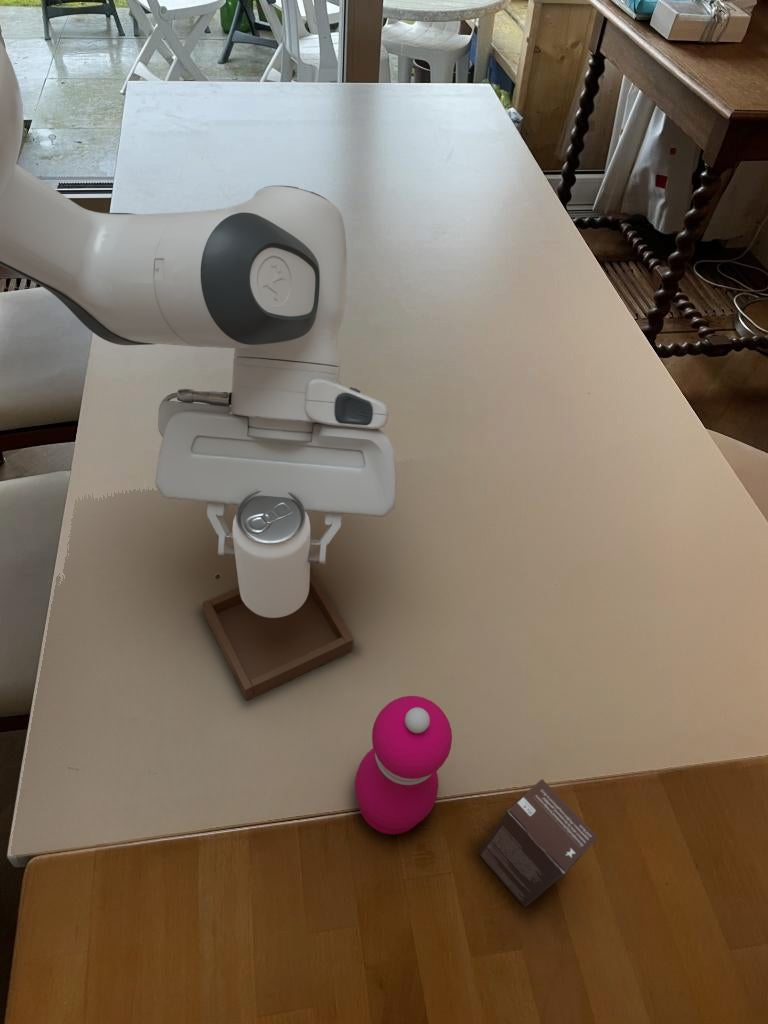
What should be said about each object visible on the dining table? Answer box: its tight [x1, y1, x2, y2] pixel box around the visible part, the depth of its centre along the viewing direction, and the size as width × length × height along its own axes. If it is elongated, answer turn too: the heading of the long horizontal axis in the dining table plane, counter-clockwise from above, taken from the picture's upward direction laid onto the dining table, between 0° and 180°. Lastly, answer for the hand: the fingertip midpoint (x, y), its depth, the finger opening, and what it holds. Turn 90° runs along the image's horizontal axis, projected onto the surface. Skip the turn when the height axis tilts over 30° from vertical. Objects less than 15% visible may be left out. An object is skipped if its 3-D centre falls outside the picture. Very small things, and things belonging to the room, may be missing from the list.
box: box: [477, 778, 598, 908], centre depth 64 cm, size 6×4×12 cm
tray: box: [201, 566, 354, 701], centre depth 79 cm, size 12×11×2 cm
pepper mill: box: [354, 695, 453, 835], centre depth 63 cm, size 7×7×20 cm
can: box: [231, 490, 311, 618], centre depth 69 cm, size 6×6×12 cm
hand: (272, 558), depth 68 cm, fingers closed on can, 6 cm apart
